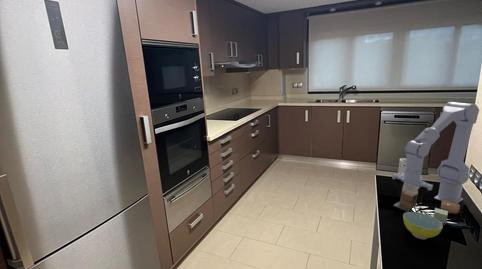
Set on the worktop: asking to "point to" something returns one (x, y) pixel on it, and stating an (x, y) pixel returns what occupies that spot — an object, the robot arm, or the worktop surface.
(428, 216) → the bowl
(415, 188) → the white cup
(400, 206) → the plate
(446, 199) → the robot arm
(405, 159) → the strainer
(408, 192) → the walnut block
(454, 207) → the brown rounded disc
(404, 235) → the worktop surface
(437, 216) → the sage cube
